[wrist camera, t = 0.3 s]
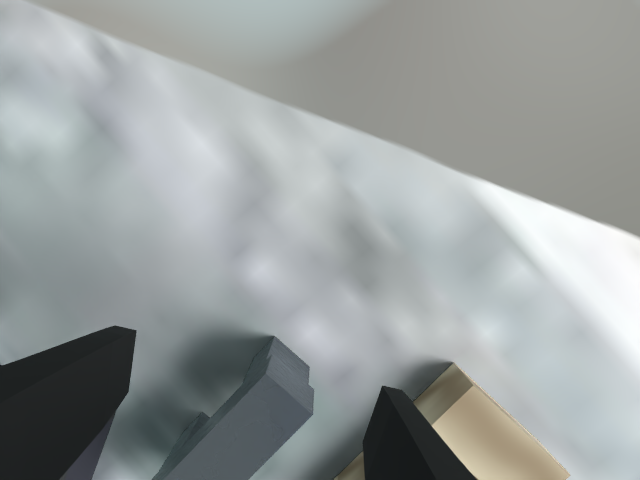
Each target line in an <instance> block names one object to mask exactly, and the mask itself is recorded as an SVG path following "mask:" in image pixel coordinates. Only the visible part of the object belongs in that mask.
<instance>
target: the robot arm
mask: <svg viewBox="0 0 640 480" xmlns="http://www.w3.org/2000/svg"><path fill="white" fill-rule="evenodd" d="M136 331H137V330H132V329H128V328H123V327H119V326H112V327H109V328H105V329H102V330H100V331H97V332H94V333H91V334H88V335H86V336H83V337H80V338H78V339H75V340H72V341H69V342H67V343H64V344H61V345H59V346H56V347H53V348H51V349H48V350H45V351H42V352H40V353H37V354H34V355H31V356H29V357H26V358H23V359H20V360H18V361H15V362H12V363H9V364H6V365H3V366H0V480H59V479H60V478H61V477H62V476H63V475H64V474H65V472H66V471H67V470H68V469H69V468H70V467H71V466H72V464H73V463H74V462H75V461H76V460H77V459H78V457H79V456H80V455H81V454H82V453H83V452H84V450H85V449H86V448H87V447H88V446H89V445H90V443H91V442H92V441H93V440H94V439H95V437H96V436H97V435H98V434H99V433H100V432H101V430H102V429H103V428H104V426H105V425H106V424H107V422H108V421H109V419H110V418H111V417H112V415H113V414H114V412H115V411H116V409H117V408H118V407H119V405H120V404H121V402H122V401H123V399H124V398H125V396H126V395H127V393H128V391H129V383H130V376H131V368H132V361H133V353H134V346H135V338H136ZM363 457H364V474H365V480H477V479H476V478H475V477H474V476H473V475H472V474H471V472H470V471H469V470H468V469H467V468H466V467H465V465H464V464H463V463H462V462H461V461H460V460H459V458H458V457H457V456H456V455H455V454H454V452H453V451H452V450H451V449H450V448H449V446H448V445H447V444H446V443H445V442H444V440H443V439H442V438H441V437H440V436H439V434H438V433H437V432H436V431H435V429H434V428H433V427H432V426H431V424H430V423H429V422H428V421H427V419H426V418H425V417H424V416H423V414H422V413H421V412H420V411H419V410H418V408H417V407H416V406H415V405H414V403H413V402H412V401H411V400H410V399H409V397H408V396H407V395H406V394H405V393H404V392H403V391H402V390H399V389H395V388H390V387H386V386H382V388H381V391H380V394H379V397H378V399H377V402H376V405H375V408H374V411H373V414H372V417H371V420H370V423H369V425H368V428H367V431H366V434H365V437H364V440H363Z"/></svg>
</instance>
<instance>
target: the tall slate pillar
mask: <svg viewBox="0 0 640 480" xmlns="http://www.w3.org/2000/svg"><path fill="white" fill-rule="evenodd" d="M309 368H310V367H309V366H308V365H307V364H306V363H305V362H303V361H302V360H301V359H300V358H299V357H298V356H297V355H296V354H294V353H293V352H292V351H291V350H290V349H289V348H288V347H286V346H285V345H284V344H283V343H282V342H281V341H280V340H279V339H277V338H276V337H275V336H274V337H273V338H272V339H271V340H270V342H269V343H268V344H267V345H266V346H265V347H264V348H263V349H262V350H261V351H260V352H259V353H258V354H257V355H256V356H255V357H254V358H253V361H252V363H251V365H250V367H249V370H248V372H247V374H246V377H245V379H244V381H243V383H242V386H241V387H240V388H239V389H238V390H237V391H236V392H235V393H234V394H233V395H232V396H231V397H230V398H229V399H228V400H227V401H226V402H225V403H224V404H223V405H222V406H221V407H220V409H219V410H218V411H217V412H216V413H215V414H214V415H213V416H212V417H211V418H209V417H208V416H207V415H206V414H204V413H203V412H202V413H201V414H200V415H199V416H198V417H197V418H196V419H195V420H194V421H193V422H192V423H191V424H190V425H189V426H188V428H187V429H186V430H185V431H184V432H183V433H182V434H181V436H180V438H179V439H178V441H177V443H176V444H175V446H174V447H173V449H172V451H171V452H170V454H169V456H168V457H167V459H166V460H165V462H164V464H163V465H162V467H161V469H160V470H159V472H158V473H157V474H156V475H155V476H154V477H153V478H152V480H248V479H249V478H250V477H251V476H252V475H253V474H254V473H255V472H256V471H257V470H258V469H259V468H260V467H261V466H262V465H263V464H264V463H265V462H266V461H267V460H268V459H269V458H270V457H271V456H272V455H273V454H274V453H275V452H276V451H277V450H278V449H279V448H280V447H281V446H282V445H283V444H284V443H285V442H286V441H287V440H288V439H289V438H290V437H291V436H292V435H293V434H294V433H295V432H296V431H297V430H298V429H299V428H300V427H301V426H302V425H303V424H304V423H305V422H306V421H307V420H308V419H309V418H310V417H311V416H312V415H313V401H314V389H313V388H312V387H311V386H309V385H308V383H309Z"/></svg>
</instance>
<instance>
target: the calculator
mask: <svg viewBox="0 0 640 480" xmlns="http://www.w3.org/2000/svg"><path fill="white" fill-rule="evenodd" d="M0 366H1V365H0ZM114 416H115V412H114V414H113V415H112V417H111V418H110V419H109V421H108V422H107V424H106V425H105V426H104V428H103V429H102V430H101V432H100V433H99V434H98V435H97V436H96V437H95V439H94V440H93V441H92V442H91V443H90V445H89V446H88V447H87V448H86V449H85V450H84V452H83V453H82V454H81V455H80V456H79V457H78V459H77V460H76V461H75V462H74V463H73V464H72V466H71V467H70V468H69V469H68V470H67V471H66V472H65V474H64V475H63V476H62V477H61V478H60V479H59V480H91V479H92V476H93V474H94V471H95V468H96V465H97V463H98V460H99V457H100V454H101V452H102V449H103V446H104V443H105V441H106V438H107V435H108V432H109V430H110V427H111V424H112V421H113V419H114Z"/></svg>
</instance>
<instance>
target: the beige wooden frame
mask: <svg viewBox="0 0 640 480" xmlns="http://www.w3.org/2000/svg"><path fill="white" fill-rule="evenodd" d="M413 403H414V405H415V406H416V407H417V408H418V410H419V411H420V412H421V413H422V414H423V416H424V417H425V418H426V419H427V421H428V422H429V423H430V424H431V426H432V427H433V428H434V429H435V431H436V432H437V433H438V434H439V436H440V437H441V438H442V439H443V440H444V442H445V443H446V444H447V445H448V446H449V448H450V449H451V450H452V451H453V452H454V454H455V455H456V456H457V457H458V458H459V460H460V461H461V462H462V463H463V464H464V465H465V467H466V468H467V469H468V470H469V471H470V472H471V474H472V475H473V476H474V477H475V478H476V479H477V480H566V479H567V478H568V477H569V476H570V474H569V473H568V472H567V471H566V470H565V469H564V467H563V466H562V465H561V464H560V463H559V462H558V461H557V460H556V459H555V458H554V457H553V456H552V455H551V454H550V453H549V451H548V450H547V449H546V448H545V447H544V446H543V445H542V444H541V443H540V442H539V441H538V440H537V439H536V438H535V437H534V436H533V435H532V434H531V433H529V432H528V431H527V430H526V429H525V428H524V427H523V426H522V425H521V424H520V423H519V422H518V421H517V420H515V419H514V418H513V417H512V416H511V415H510V414H509V413H508V412H507V411H506V410H505V409H504V408H502V407H501V406H500V405H499V404H498V403H497V402H496V401H495V400H494V399H493V398H492V397H491V396H490V395H488V394H487V393H486V392H485V391H484V390H483V389H482V388H481V387H480V386H479V385H478V384H477V383H476V382H474V381H473V380H472V379H471V378H470V377H469V376H468V375H467V374H466V373H465V372H464V371H463V370H462V369H460V368H459V367H458V366H457V365H456V364H455V363H453V364H452V365H451V366H450V367H449V368H448V369H447V370H445V371H444V372H443V373H442V374H441V375H440V376H439V377H438V378H437V379H436V380H435V381H434V382H433V383H432V384H431V385H430V386H429V387H428V388H427V389H426V390H425V391H424V392H423V393H422V394H421V395H420V396H419V397H418V398H417V399H416V400H415V401H414V402H413ZM333 480H365V474H364V457H363V451H362V452H361V453H360V454H359V455H358V456H357V457H356V458H355V459H354V460H353V461H352V462H351V463H350V464H349V465H348V466H347V467H346V468H345V469H344V470H343V471H342V472H341V473H340V474H339V475H338V476H336V477H335V478H334V479H333Z"/></svg>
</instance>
